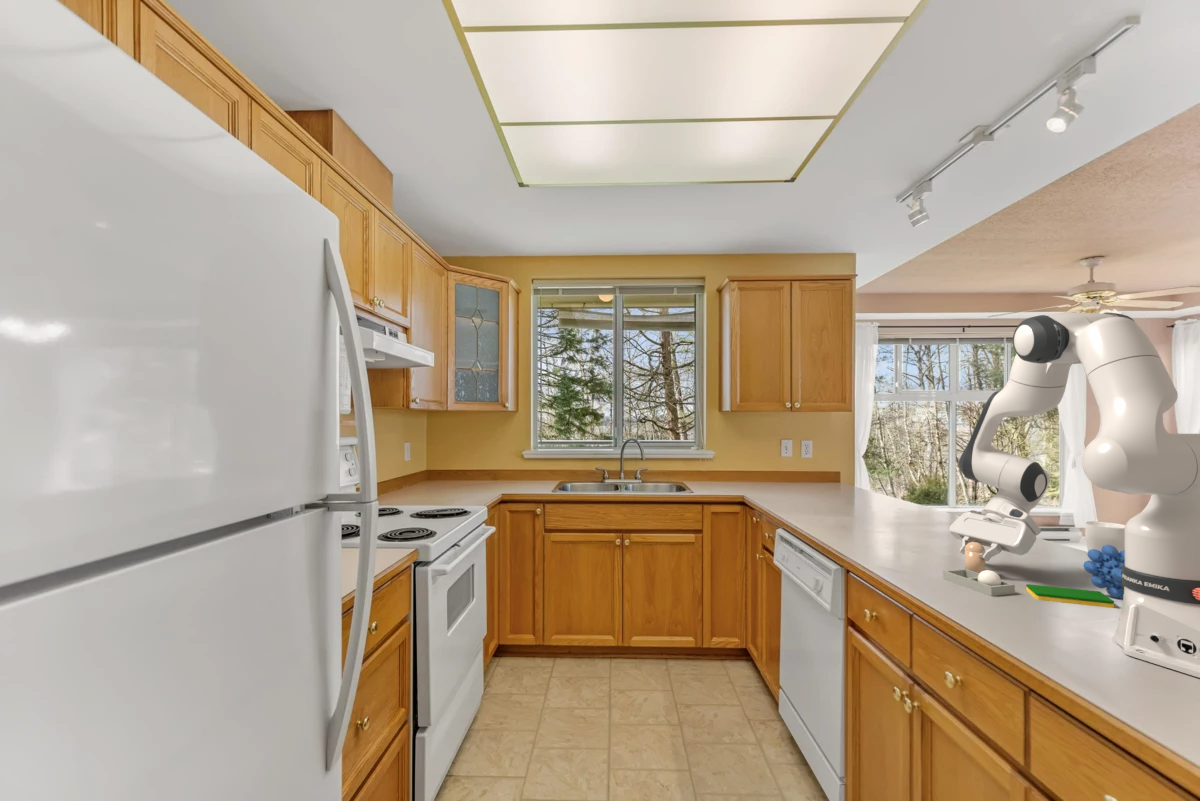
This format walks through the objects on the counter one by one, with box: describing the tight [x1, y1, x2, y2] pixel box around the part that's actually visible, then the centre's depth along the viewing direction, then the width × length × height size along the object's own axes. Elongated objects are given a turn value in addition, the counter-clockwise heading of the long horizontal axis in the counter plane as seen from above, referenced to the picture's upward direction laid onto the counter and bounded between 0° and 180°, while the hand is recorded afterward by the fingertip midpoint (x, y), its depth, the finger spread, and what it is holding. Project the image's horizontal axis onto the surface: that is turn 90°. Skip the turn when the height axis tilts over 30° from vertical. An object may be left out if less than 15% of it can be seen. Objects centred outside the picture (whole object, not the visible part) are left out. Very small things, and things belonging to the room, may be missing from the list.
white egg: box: [978, 569, 1002, 586], centre depth 131 cm, size 5×5×5 cm
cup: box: [1084, 520, 1126, 561], centre depth 149 cm, size 9×9×12 cm
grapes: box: [1082, 545, 1125, 599], centre depth 126 cm, size 12×7×12 cm, turn 57°
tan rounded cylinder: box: [964, 542, 986, 573], centre depth 143 cm, size 4×4×8 cm
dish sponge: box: [1025, 583, 1115, 609], centre depth 125 cm, size 7×14×2 cm, turn 68°
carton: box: [942, 568, 1016, 597], centre depth 134 cm, size 13×7×2 cm, turn 14°
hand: (973, 556), depth 143 cm, fingers closed on tan rounded cylinder, 4 cm apart
